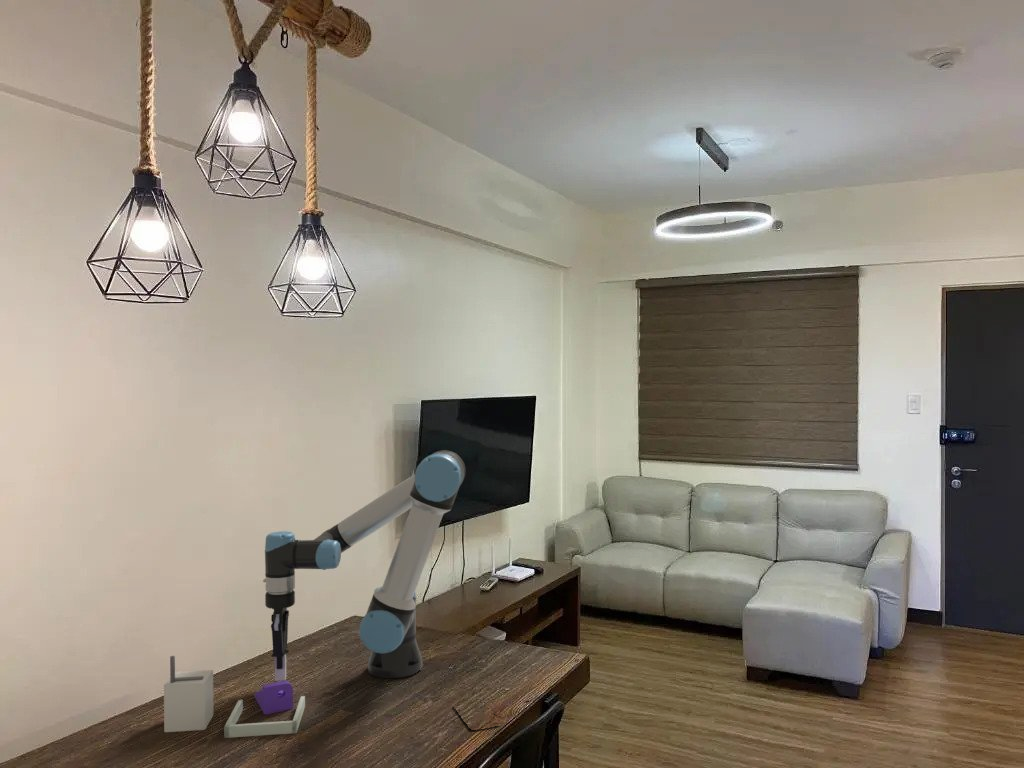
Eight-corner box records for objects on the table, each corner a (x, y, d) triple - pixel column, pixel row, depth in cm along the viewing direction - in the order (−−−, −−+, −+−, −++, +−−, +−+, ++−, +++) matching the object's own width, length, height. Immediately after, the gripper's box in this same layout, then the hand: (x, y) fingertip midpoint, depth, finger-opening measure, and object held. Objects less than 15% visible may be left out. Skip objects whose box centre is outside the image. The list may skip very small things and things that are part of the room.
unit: (213, 714, 187) (213, 644, 187) (204, 729, 179) (204, 656, 179) (175, 716, 186) (174, 646, 186) (164, 732, 178) (163, 659, 178)
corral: (305, 706, 192) (305, 696, 192) (296, 733, 177) (296, 722, 177) (238, 710, 190) (238, 700, 190) (224, 737, 175) (224, 726, 175)
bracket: (292, 709, 191) (292, 682, 191) (264, 715, 187) (264, 687, 187) (282, 693, 201) (281, 666, 201) (254, 698, 198) (254, 671, 198)
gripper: (270, 585, 210) (270, 671, 210) (260, 598, 197) (261, 689, 197) (298, 584, 211) (298, 669, 211) (290, 597, 198) (291, 688, 198)
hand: (280, 679), depth 204 cm, fingers closed
